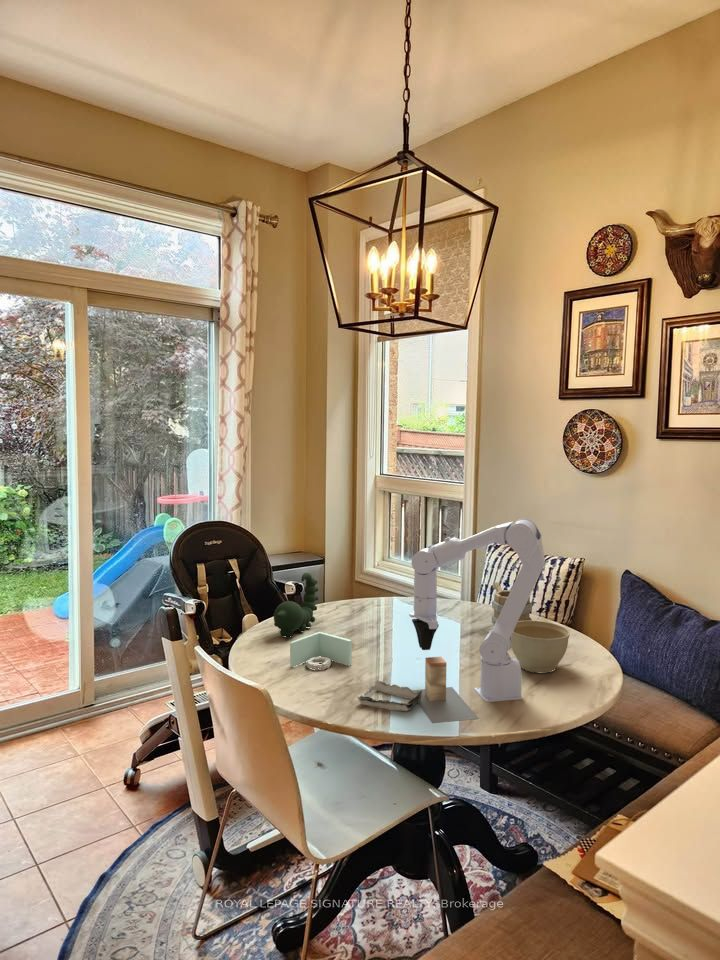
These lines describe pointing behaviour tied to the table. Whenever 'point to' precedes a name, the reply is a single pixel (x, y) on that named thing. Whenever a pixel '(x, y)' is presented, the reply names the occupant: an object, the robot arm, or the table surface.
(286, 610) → the toy figurine
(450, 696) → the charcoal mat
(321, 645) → the l-shaped corner panel
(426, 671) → the birch block
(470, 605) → the table surface
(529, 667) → the planter bowl
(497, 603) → the tankard
